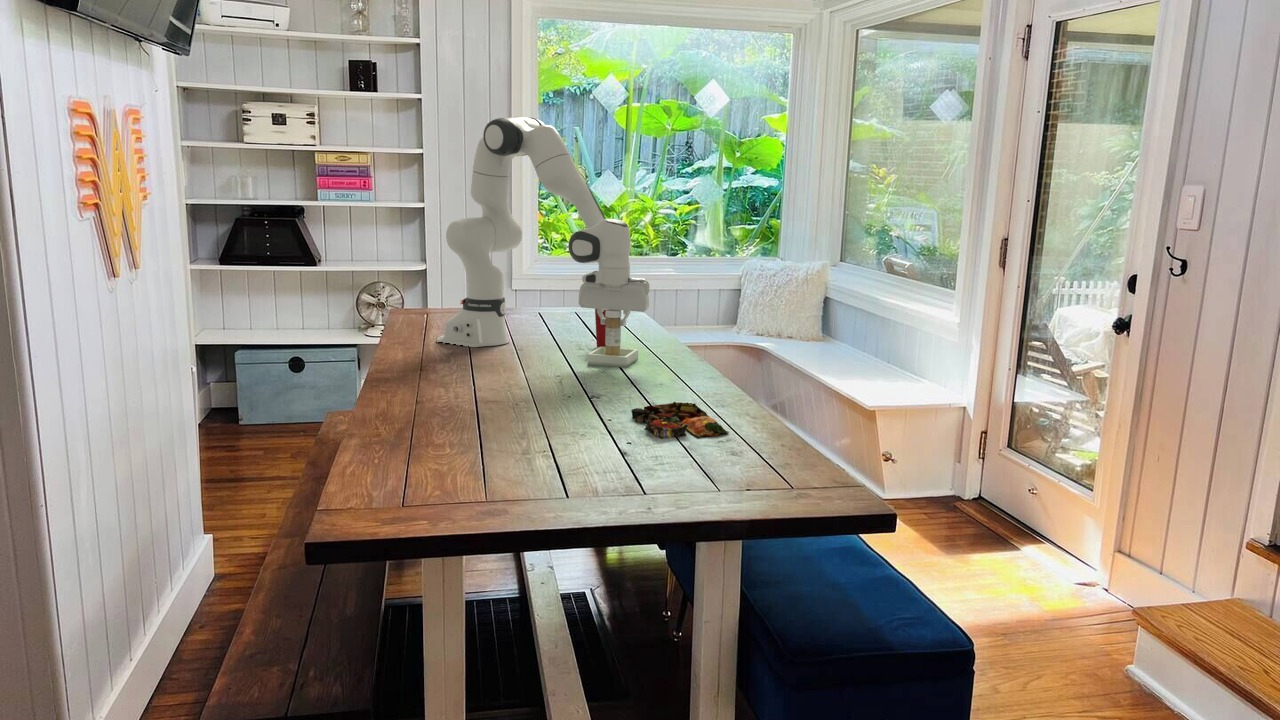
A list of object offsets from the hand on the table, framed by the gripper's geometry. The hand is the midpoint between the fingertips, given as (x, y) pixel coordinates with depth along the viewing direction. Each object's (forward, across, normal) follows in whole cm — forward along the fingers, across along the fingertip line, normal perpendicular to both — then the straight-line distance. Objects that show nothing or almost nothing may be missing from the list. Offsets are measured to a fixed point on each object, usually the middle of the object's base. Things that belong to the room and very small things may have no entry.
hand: (613, 325), depth 264 cm
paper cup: (+11, +8, -18) cm, 22 cm away
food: (+11, -33, +56) cm, 66 cm away
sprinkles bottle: (+9, 0, 0) cm, 9 cm away
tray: (+11, 0, 0) cm, 11 cm away
